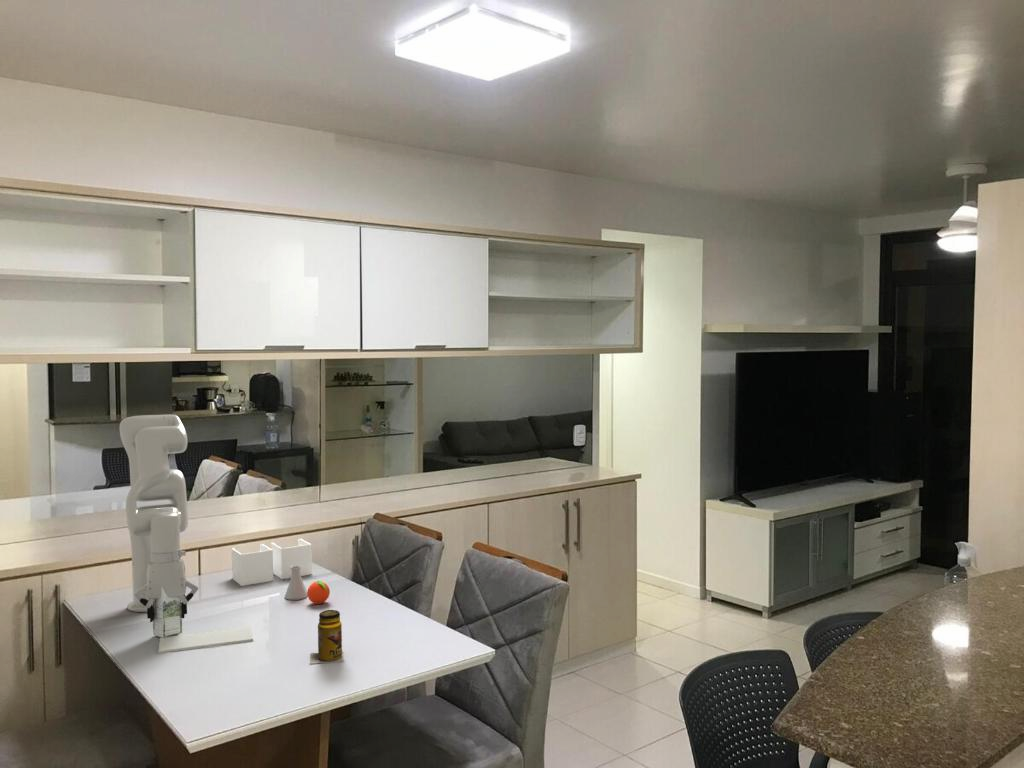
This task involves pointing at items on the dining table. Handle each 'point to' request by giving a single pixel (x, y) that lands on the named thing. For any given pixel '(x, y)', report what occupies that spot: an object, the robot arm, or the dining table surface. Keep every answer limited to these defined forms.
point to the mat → (205, 639)
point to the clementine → (318, 592)
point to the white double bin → (271, 563)
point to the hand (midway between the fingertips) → (167, 618)
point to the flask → (296, 585)
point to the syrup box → (167, 616)
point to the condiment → (328, 638)
